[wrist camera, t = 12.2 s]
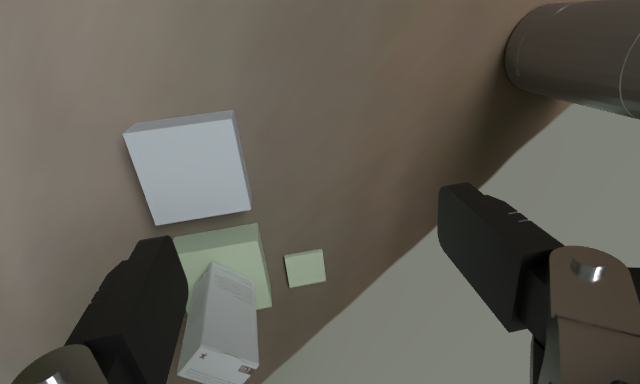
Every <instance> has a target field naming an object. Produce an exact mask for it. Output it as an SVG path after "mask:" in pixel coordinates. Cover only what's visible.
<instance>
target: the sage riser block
mask: <svg viewBox="0 0 640 384" xmlns="http://www.w3.org/2000/svg"><path fill="white" fill-rule="evenodd" d="M173 242H174V245H175V248H176V250H177V253H178V256H179V259H180V261H181V264H182V267H183V269H184V272H185V275H186V278H187V282H188V289H189V296H188V301H187V305H186V311H187V314H188V313H189V308H190V302H191V297H192V292H193V286H194V284H195V282H196V281H197V280H198V278H199V277H200V276H201V275H202V273H203V272H204V271H205V269H206V268H207V267H208V265H209V264H210V263H211V262H215V263H217V264H219V265H221V266H223V267H225V268H227V269H229V270H231V271H234V272H236V273H238V274H240V275H242V276H244V277H246V278H248V279H251V280H253V281H254V282H255V294H256V310H257V309H262V308H268V307H272V300H271V285H270V280H269V275H268V270H267V266H266V261H265V256H264V251H263V246H262V242H261V237H260V232H259V227H258V223H253V224H247V225H241V226H236V227H230V228H224V229H218V230H212V231H206V232H200V233H194V234H189V235H183V236H177V237H174V239H173Z"/></svg>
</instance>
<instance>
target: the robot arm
mask: <svg viewBox="0 0 640 384" xmlns="http://www.w3.org/2000/svg"><path fill="white" fill-rule="evenodd" d="M505 68H506V73H507V75H508V77H509V79H510V81H511V82H512V83H513V85H515V86H516V87H517V88H519V89H521V90H524V91H527V92H531V93H535V94H539V95H543V96H547V97H551V98H555V99H559V100H563V101H567V102H571V103H575V104H579V105H583V106H587V107H591V108H595V109H599V110H603V111H607V112H611V113H615V114H619V115H623V116H627V117H631V118H635V119H639V120H640V0H602V1H585V2H569V3H555V4H547V5H544V6H541V7H538V8H537V9H535V10H533V11H532V12H530V13H529V14H528V15H527V16H525V17H524V18H523V19H522V20H521V22H520V23H519V24H518V25H517V26H516V28H515V30H514V31H513V33H512V35H511V37H510V39H509V42H508V44H507V48H506V53H505ZM438 238H439V242H440V245H441V247H442V249H443V250H444V252H445V253H446V254H447V256H448V257H449V258H450V259H451V261H452V262H453V263H454V264H455V266H456V267H457V268H458V269H459V270H460V272H461V273H462V274H463V276H464V277H465V278H466V279H467V281H468V282H469V283H470V284H471V286H472V287H473V288H474V289H475V291H476V292H477V293H478V294H479V296H480V297H481V298H482V299H483V301H484V302H485V303H486V304H487V306H488V307H489V308H490V309H491V311H492V312H493V313H494V314H495V316H496V317H497V318H498V320H499V321H500V322H501V323H502V324H503V326H504V327H505V328H506V330H507V331H508V332H514V331H518V330H523V329H528V330H529V331H530V332H531V333H532V334H533V336H532V341H531V352H530V384H640V268H628V267H626V266H625V265H624V264H623V263H622V262H621V261H620V260H618V259H617V258H615V257H613V256H612V255H610V254H607V253H605V252H603V251H600V250H597V249H593V248H589V247H583V246H564V245H563V244H561V243H560V242H559V241H557V240H556V239H554V238H553V237H552V236H550V235H549V234H548V233H546V232H545V231H544V230H542V229H541V228H540V227H538V226H537V225H536V224H534V223H533V222H532V221H528V219H527V218H526V217H525V216H524V215H522V214H521V213H518V212H517V210H515V209H514V208H512V207H511V206H510V205H509V204H507V203H506V202H504V201H501V200H499V199H497V198H494V197H491V196H489V195H483V194H482V193H481V192H480V191H479V190H477V189H476V188H475V187H473V186H472V185H471V184H469V183H460V184H455V185H449V186H444V187H442V188H441V189H440V191H439V203H438ZM188 296H189V289H188V282H187V278H186V275H185V272H184V269H183V267H182V264H181V261H180V259H179V256H178V253H177V250H176V248H175V245H174V242H173V240H172V239H171V237H170V236H168V235H166V236H160V237H155V238H149V239H144V240H140V241H139V242H138V243H137V245H136V247H135V249H134V250H133V252H132V254H131V256H130V258H129V259H128V260H125V261H122V262H121V263H120V264H118V265H117V266H116V267H115V268H114V269H113V270H112V271H111V272H110V273H108V274H107V276H106V277H105V279H104V281H103V282H102V284H101V286H100V287H99V291H98V292H96V294H95V295H94V297H93V299H92V300H91V302H92V303H91V304H89V305H88V307H87V309H86V310H85V312H84V313H83V315H82V317H81V318H80V320H79V322H78V323H77V325H76V327H75V328H74V330H73V332H72V333H71V335H70V337H69V338H68V340H67V341H66V343H65V345H64V346H63V347H60V348H57V349H55V350H53V351H50V352H48V353H46V354H45V355H43V356H41V357H40V358H38V359H36V360H35V361H34V362H32V363H31V364H30V365H28V366H27V367H26V368H25V369H24V370H23V371H22V372H21V373H20V374H19V375H18V376H17V377H16V378H15V379H14V381H13V382H12V383H11V384H166V381H167V378H168V374H169V370H170V366H171V362H172V359H173V355H174V351H175V347H176V343H177V339H178V336H179V332H180V328H181V324H182V320H183V317H184V313H185V309H186V305H187V301H188Z"/></svg>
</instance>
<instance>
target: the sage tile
mask: <svg viewBox="0 0 640 384" xmlns="http://www.w3.org/2000/svg"><path fill="white" fill-rule="evenodd" d="M284 258H285V264H286V269H287V275H288V280H289V286H290V288H292V287H297V286H302V285H308V284H313V283H318V282H323V281H326V277H325V268H324V260H323V251H322V249H317V250H311V251H305V252H300V253H294V254H289V255H284Z"/></svg>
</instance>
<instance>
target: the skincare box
mask: <svg viewBox="0 0 640 384" xmlns="http://www.w3.org/2000/svg"><path fill="white" fill-rule="evenodd" d="M258 366H259V356H258V337H257V314H256V294H255V282H254V281H253V280H251V279H248V278H246V277H244V276H242V275H240V274H238V273H236V272H234V271H231V270H229V269H227V268H225V267H223V266H221V265H219V264H217V263H215V262H211V263H210V264H209V265H208V267H207V268H206V269H205V271H204V272H203V273H202V275H201V276H200V277H199V278H198V280H197V281H196V282H195V284H194V286H193V292H192V297H191V302H190V308H189V313H188V318H187V323H186V328H185V333H184V338H183V344H182V349H181V355H180V359H179V364H178V369H177V375H178V376H181V377H184V378H188V379H191V380H194V381H197V382H201V383H204V384H244V382H245V381H246V380H247V379H248V378H249V377H250V375H251V374H252V373H253V372H254V371H255V370H256V369H257V368H258Z"/></svg>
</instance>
